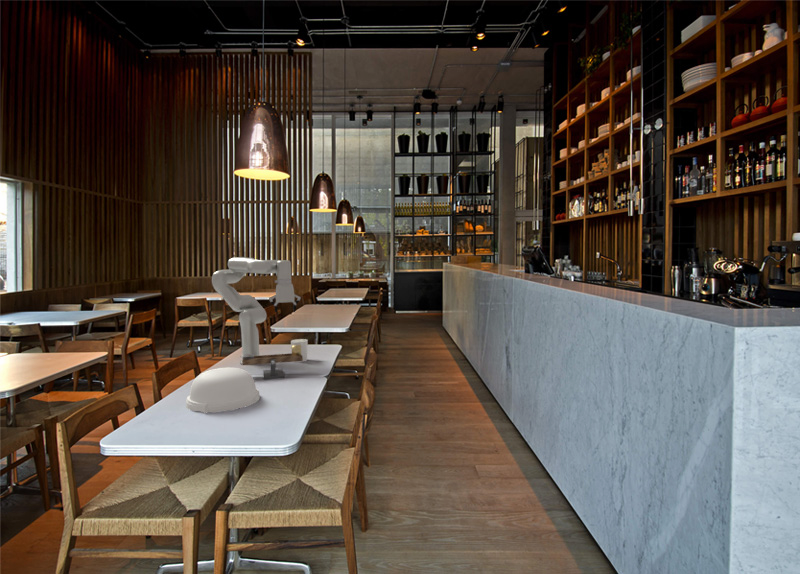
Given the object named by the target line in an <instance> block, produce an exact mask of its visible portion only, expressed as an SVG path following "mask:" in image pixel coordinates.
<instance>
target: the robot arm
mask: <svg viewBox="0 0 800 574" xmlns="http://www.w3.org/2000/svg"><path fill="white" fill-rule="evenodd" d="M227 267H228V269H219V270H217V271H215V272H214V273H213V274H212V276H211V285H212V287H213V289H214V290H215V292H216V293H217V294H218V295H220V297H221V298H222V299H223V300H224V301H225V302H226V303H227V305H228V306H229V307H230V308H231V309H232V311H234V312H236V313H239V315H238V320H239V325H240V331H241V332H240V333H241V350H242V353H241V355H240V357H241V359H240V360H239V363H240V364H241V365H242V360H243V356H244V355H248V354H254V356H260V340H259V339H260V337H259V336H260V335H259V328H258V327H257V324H261V323H264V322H265V321H266V320H267V312H266V309H265V308H263V306H262V305H261V303H259V302H258V300H257V299H256V298H255V297H254V296H252V295H250V294H240V293H239V292H238V291H237V290H236V289H235V287H233V286H231V285H230V284H236V283H238V282H239V281H240V280H242V278H244V277H245V275H246V274H247V273H248V274H249V273H251V274H261V275H262V274H263V275H265V274H266V275H267V274H268V275H269V274H277V276H276V277H277V278H276V280H274V283H275V284H276V285H275V286H276V287H275V294H274V295H273V296H271V297H269V299H268V300H269V302H270V303H271V304H272V305H273V306H274V312H275V313H276V314H277V313H278V304H279V303H280V304H281V303H292V304H293V305H292V306H293V309H292V310H293V313H296V311H297V305H298V303H299V302H300V301H301V296H298V295H297V294H295V288H294V285H293V283H292V265H291V261H290V260H287V259H285V260H283V259H282V260H278V259H255V258H254V257H246V256H238V257H237V256H235V257H232V258H230V259H228V261H227ZM295 298H297V300H295ZM274 299H275V302H274V301H273V300H274Z"/></svg>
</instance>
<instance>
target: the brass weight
mask: <svg viewBox="0 0 800 574" xmlns="http://www.w3.org/2000/svg"><path fill="white" fill-rule="evenodd" d="M291 353H292V356H301V345H292V348H291Z"/></svg>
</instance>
